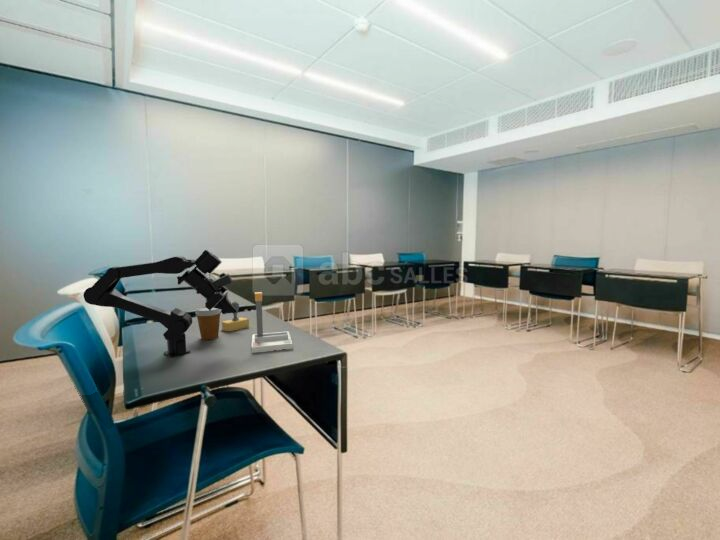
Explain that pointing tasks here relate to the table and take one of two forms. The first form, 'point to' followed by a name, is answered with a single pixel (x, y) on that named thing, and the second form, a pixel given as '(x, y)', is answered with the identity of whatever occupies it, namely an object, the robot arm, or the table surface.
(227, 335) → the table surface
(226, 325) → the rubber stamp
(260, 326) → the switch handle
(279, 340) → the switch base
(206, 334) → the disposable coffee cup
